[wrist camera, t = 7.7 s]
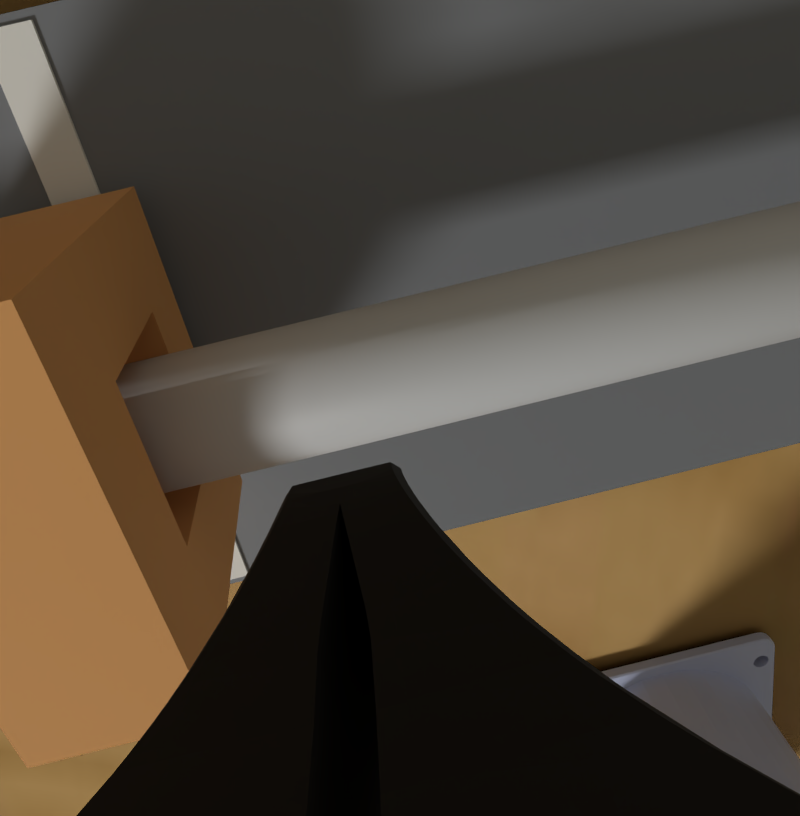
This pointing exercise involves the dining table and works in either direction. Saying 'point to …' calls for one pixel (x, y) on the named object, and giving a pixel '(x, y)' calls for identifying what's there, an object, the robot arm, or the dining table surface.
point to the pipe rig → (437, 233)
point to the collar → (93, 489)
